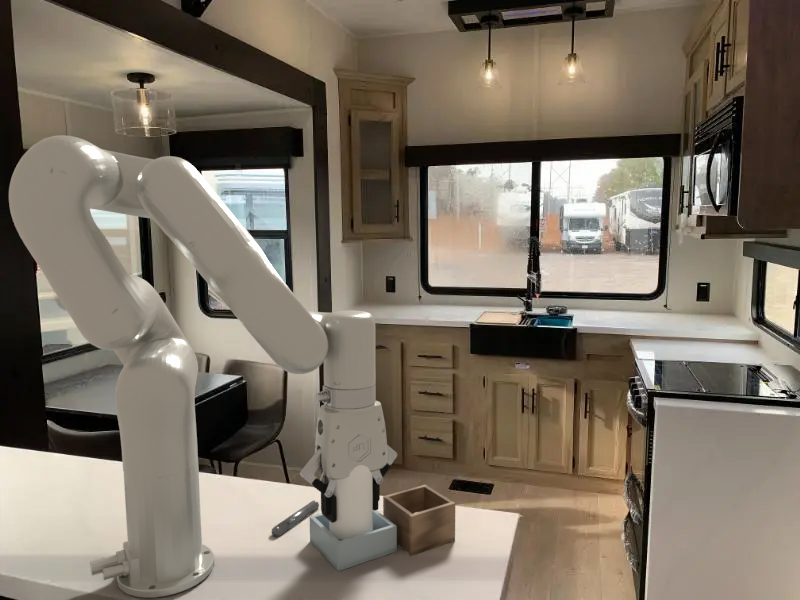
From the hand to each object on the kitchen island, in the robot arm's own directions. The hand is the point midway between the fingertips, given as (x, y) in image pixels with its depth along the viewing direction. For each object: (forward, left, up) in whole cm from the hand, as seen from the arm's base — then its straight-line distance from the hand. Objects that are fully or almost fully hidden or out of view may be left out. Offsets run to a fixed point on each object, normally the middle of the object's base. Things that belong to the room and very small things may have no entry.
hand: (350, 511), depth 90 cm
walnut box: (+10, -3, -6) cm, 12 cm away
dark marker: (-4, +12, -6) cm, 14 cm away
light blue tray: (0, 0, -6) cm, 6 cm away
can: (0, 0, -3) cm, 3 cm away
